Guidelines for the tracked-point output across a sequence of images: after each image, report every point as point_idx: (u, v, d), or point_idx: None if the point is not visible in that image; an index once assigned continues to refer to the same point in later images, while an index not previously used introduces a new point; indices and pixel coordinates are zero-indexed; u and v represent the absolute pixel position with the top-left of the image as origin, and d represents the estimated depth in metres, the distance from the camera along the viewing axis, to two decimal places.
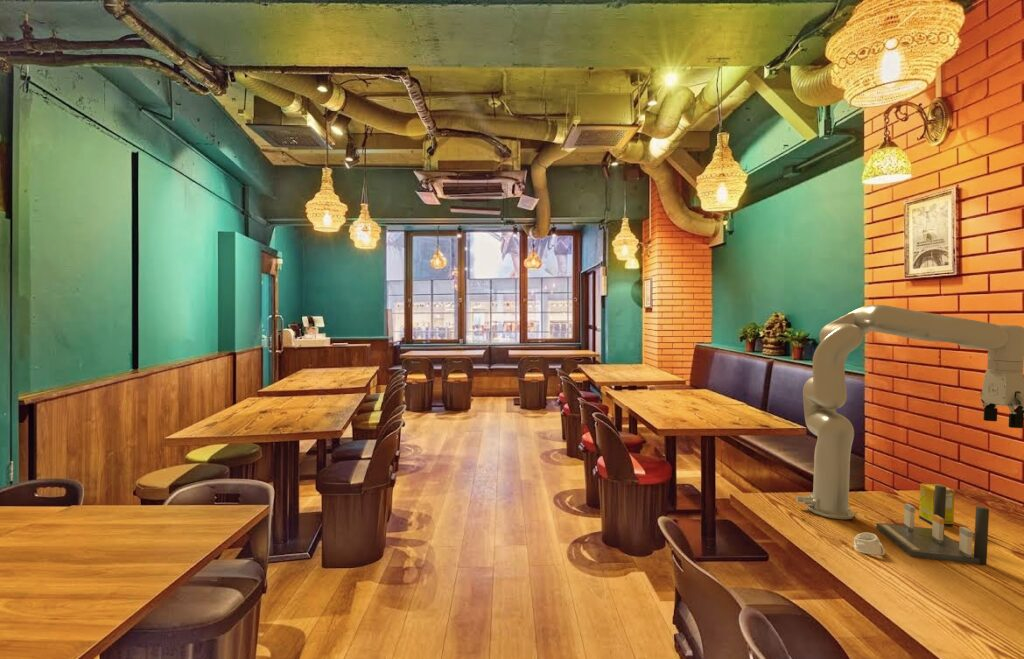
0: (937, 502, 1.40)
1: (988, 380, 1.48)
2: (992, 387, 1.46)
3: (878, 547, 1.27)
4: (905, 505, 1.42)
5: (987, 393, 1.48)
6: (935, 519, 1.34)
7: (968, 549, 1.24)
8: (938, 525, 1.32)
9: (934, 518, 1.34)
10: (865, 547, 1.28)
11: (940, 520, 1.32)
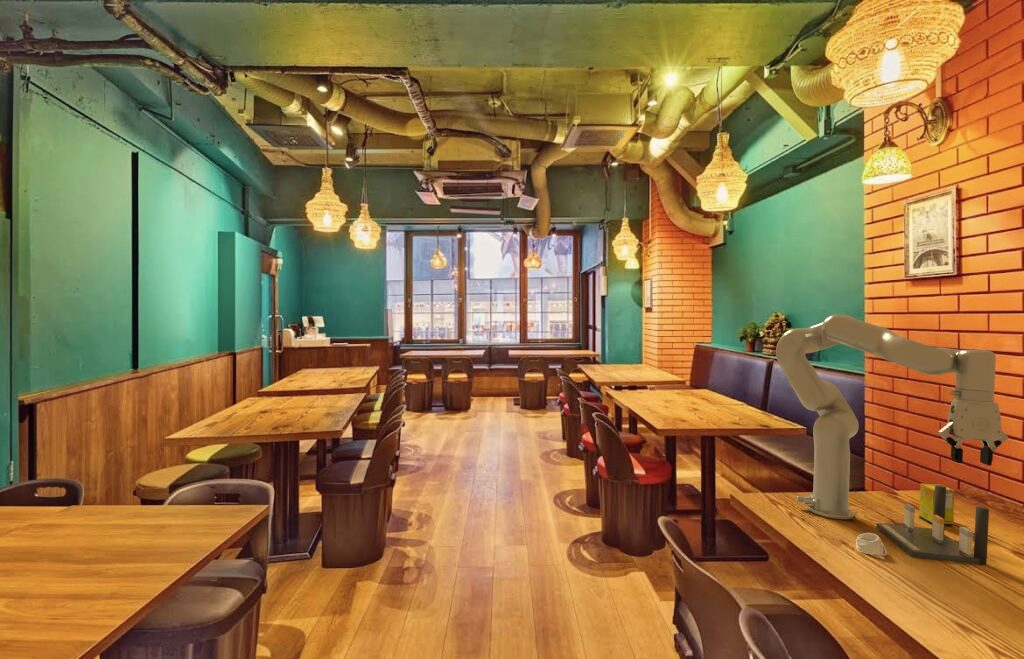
0: (937, 502, 1.40)
1: (971, 414, 1.29)
2: (979, 421, 1.28)
3: (880, 547, 1.27)
4: (905, 505, 1.42)
5: (970, 429, 1.29)
6: (935, 519, 1.34)
7: (968, 549, 1.24)
8: (938, 525, 1.32)
9: (934, 518, 1.34)
10: (867, 547, 1.28)
11: (940, 520, 1.32)
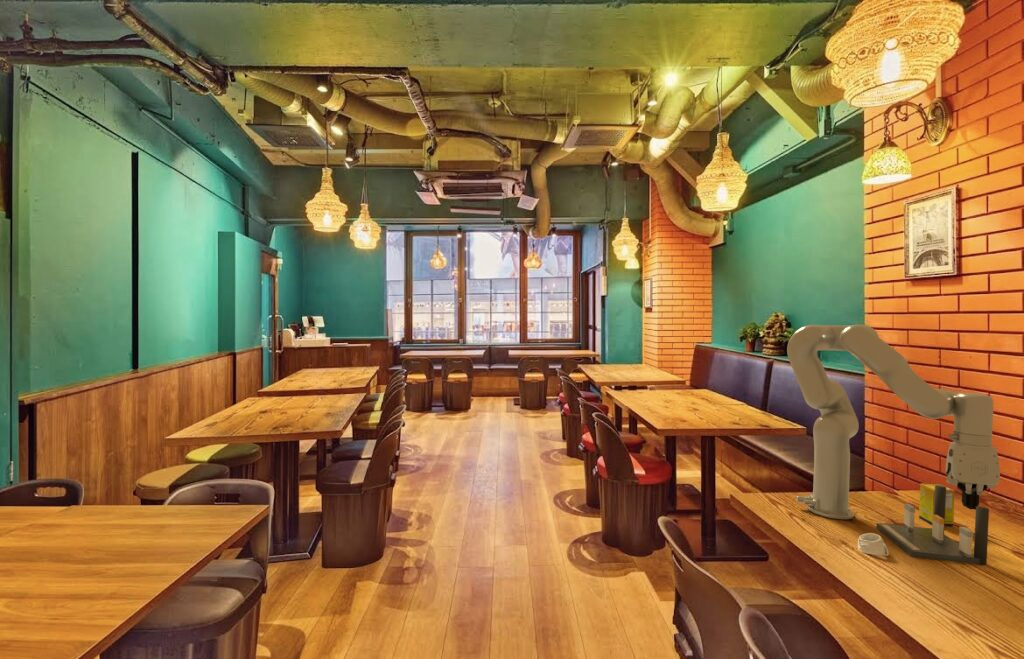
0: (937, 502, 1.40)
1: (969, 458, 1.29)
2: (978, 465, 1.29)
3: (882, 548, 1.27)
4: (905, 505, 1.42)
5: (969, 473, 1.29)
6: (935, 519, 1.34)
7: (968, 549, 1.24)
8: (938, 525, 1.32)
9: (934, 518, 1.34)
10: (869, 548, 1.28)
11: (940, 520, 1.32)
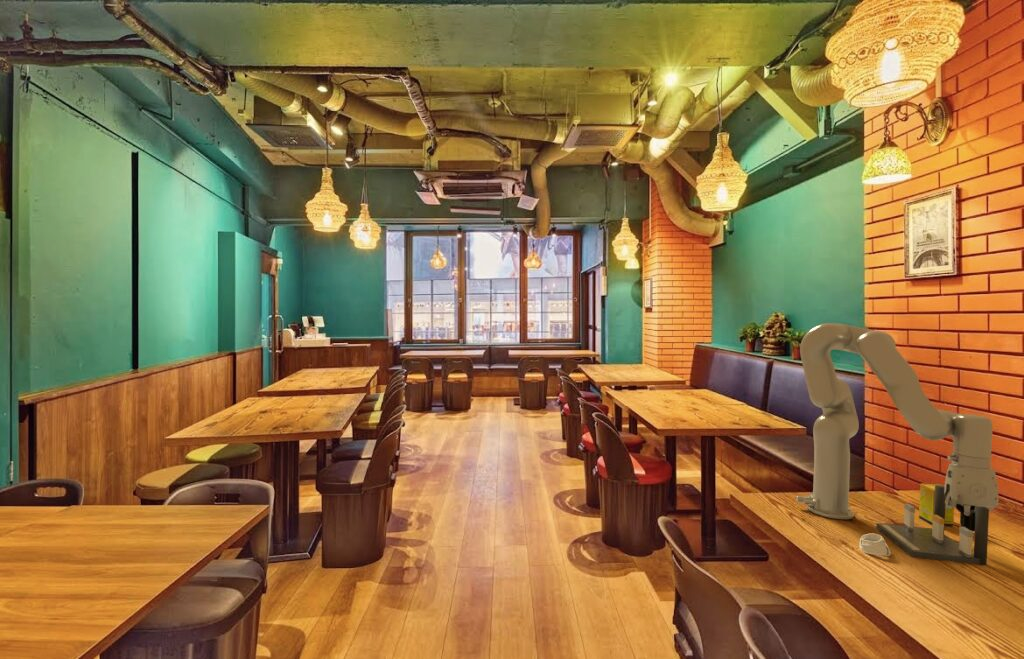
0: (937, 502, 1.40)
1: (968, 480, 1.29)
2: (976, 487, 1.29)
3: (884, 548, 1.27)
4: (905, 505, 1.42)
5: (967, 495, 1.29)
6: (935, 519, 1.34)
7: (968, 549, 1.24)
8: (938, 525, 1.32)
9: (934, 518, 1.34)
10: (871, 548, 1.28)
11: (940, 520, 1.32)
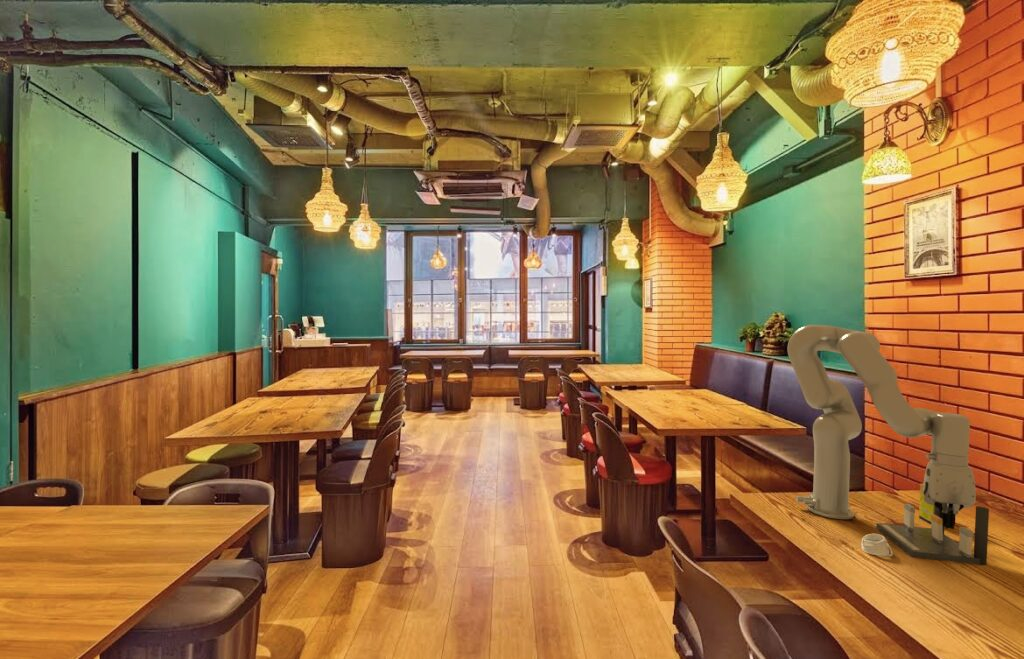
0: None
1: (946, 478, 1.30)
2: (954, 485, 1.30)
3: (886, 548, 1.27)
4: (905, 505, 1.42)
5: (945, 493, 1.30)
6: (933, 519, 1.34)
7: (968, 549, 1.24)
8: (937, 525, 1.32)
9: (932, 518, 1.34)
10: (873, 548, 1.27)
11: (938, 520, 1.32)
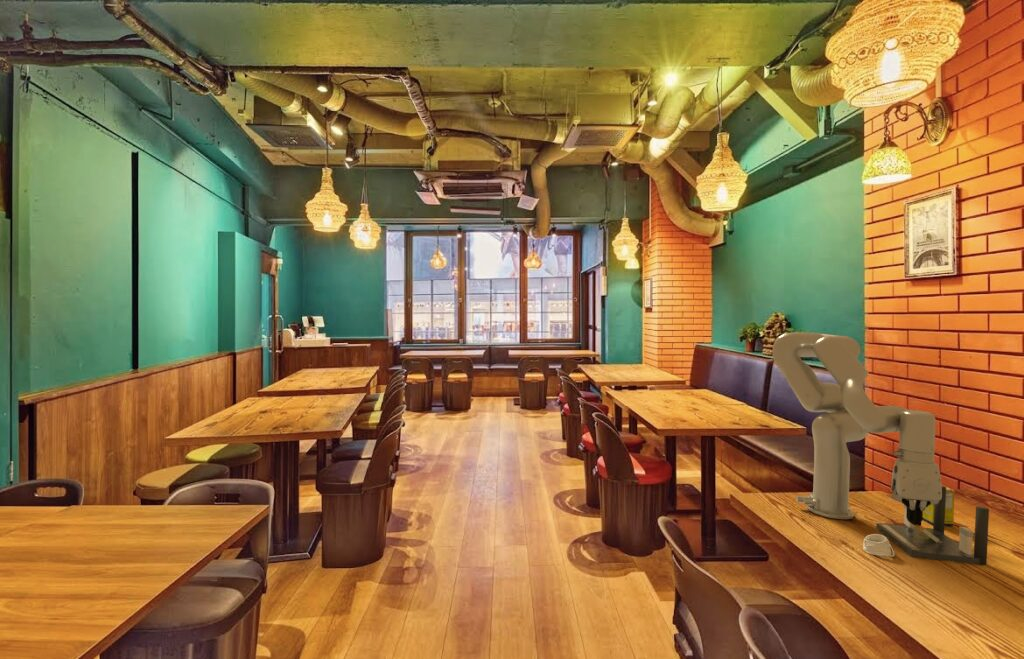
0: None
1: (912, 475, 1.32)
2: (920, 482, 1.31)
3: (888, 549, 1.26)
4: None
5: (912, 489, 1.32)
6: (916, 527, 1.35)
7: (968, 549, 1.24)
8: (923, 532, 1.33)
9: (915, 526, 1.35)
10: (875, 549, 1.27)
11: (919, 528, 1.33)
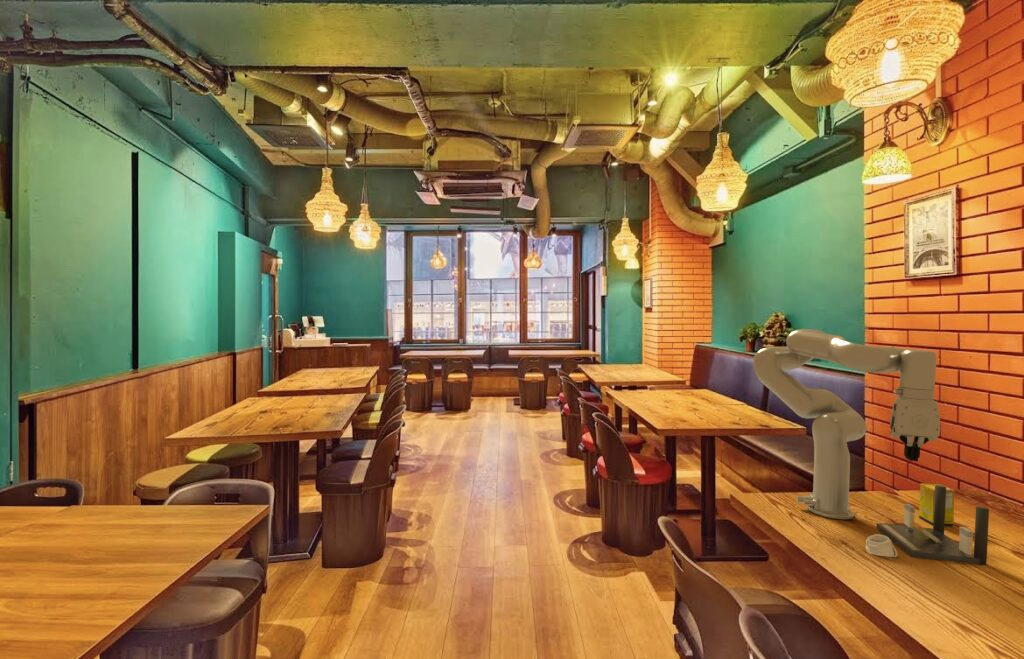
0: (937, 502, 1.40)
1: (911, 411, 1.34)
2: (919, 418, 1.33)
3: (891, 549, 1.26)
4: (905, 505, 1.42)
5: (910, 426, 1.34)
6: None
7: (968, 549, 1.24)
8: None
9: (915, 527, 1.35)
10: (877, 549, 1.27)
11: (919, 529, 1.33)
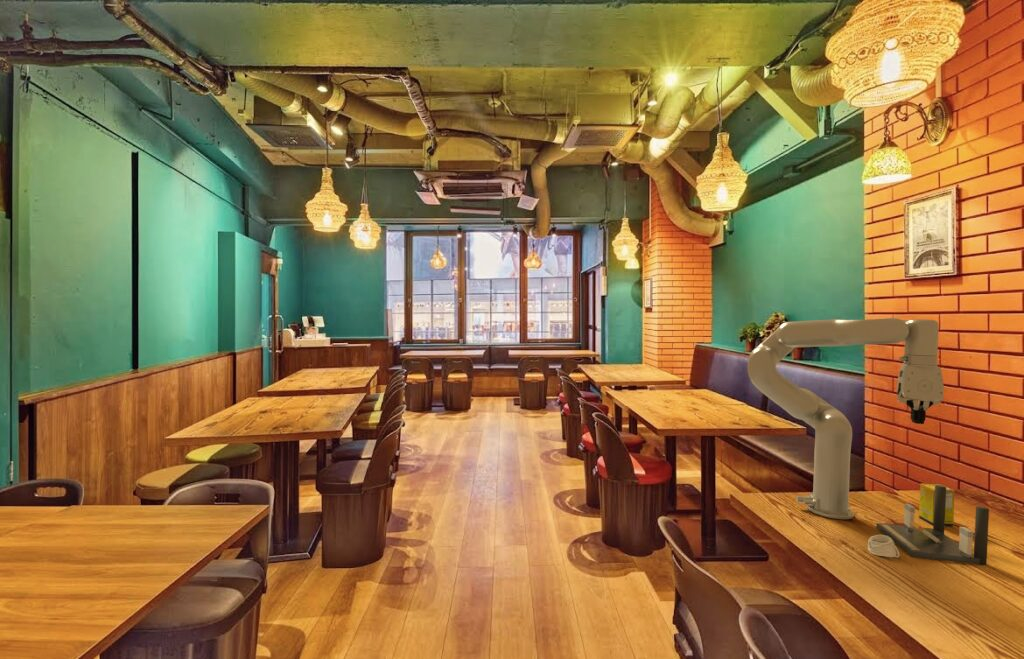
0: (937, 502, 1.40)
1: (916, 377, 1.43)
2: (924, 383, 1.42)
3: (893, 549, 1.26)
4: (905, 505, 1.42)
5: (916, 390, 1.43)
6: None
7: (968, 549, 1.24)
8: None
9: (915, 527, 1.35)
10: (880, 549, 1.27)
11: (919, 529, 1.33)
